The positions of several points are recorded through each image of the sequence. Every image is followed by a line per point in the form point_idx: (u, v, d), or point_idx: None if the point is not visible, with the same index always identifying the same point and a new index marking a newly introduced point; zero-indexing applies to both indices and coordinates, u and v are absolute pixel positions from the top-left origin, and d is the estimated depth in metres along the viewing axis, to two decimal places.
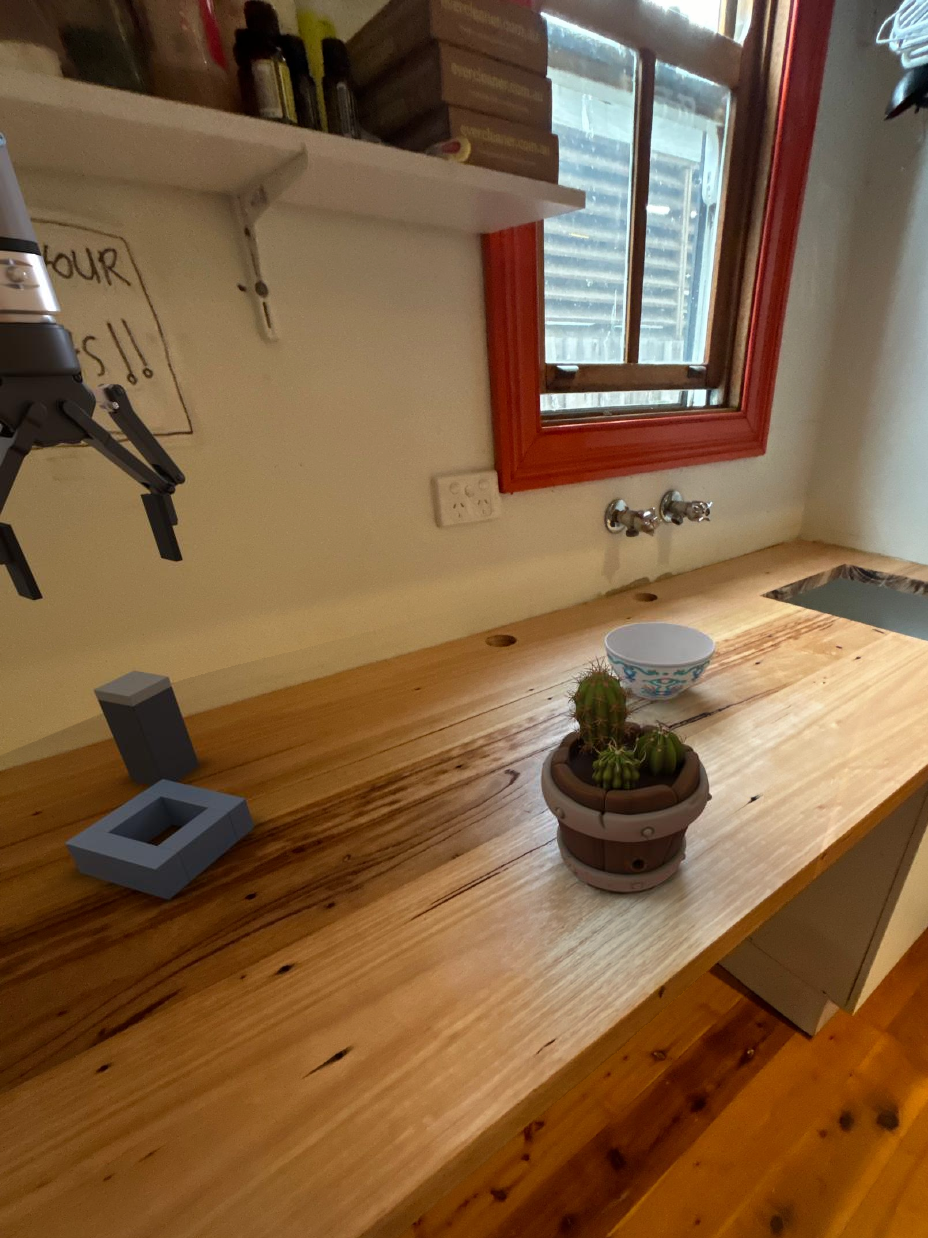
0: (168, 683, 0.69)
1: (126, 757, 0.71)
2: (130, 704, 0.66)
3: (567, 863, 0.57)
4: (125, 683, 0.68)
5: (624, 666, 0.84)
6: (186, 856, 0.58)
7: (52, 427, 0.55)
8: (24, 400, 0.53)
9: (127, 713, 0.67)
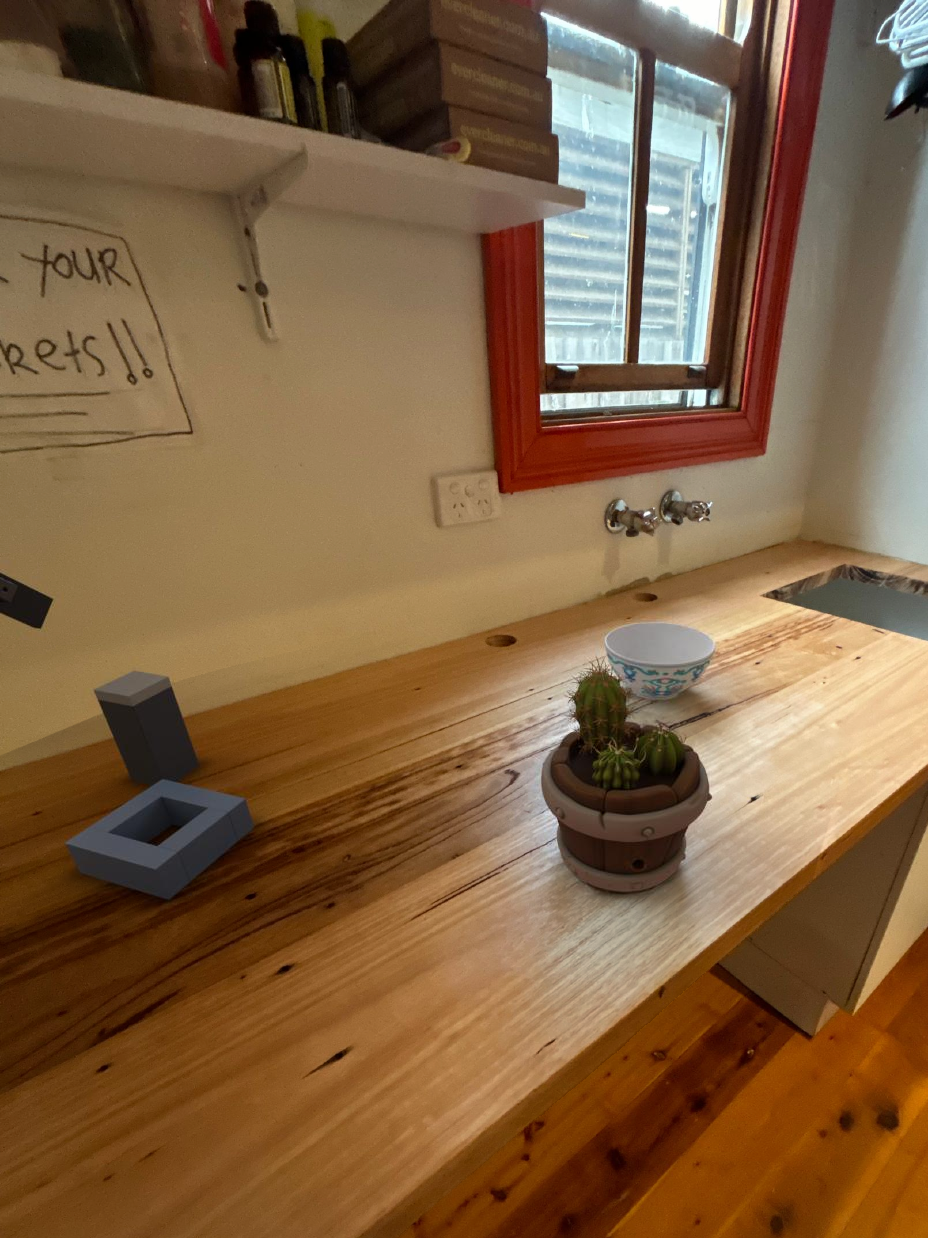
0: (168, 683, 0.69)
1: (126, 757, 0.71)
2: (130, 704, 0.66)
3: (567, 863, 0.57)
4: (125, 683, 0.68)
5: (624, 666, 0.84)
6: (186, 856, 0.58)
7: None
8: None
9: (127, 713, 0.67)
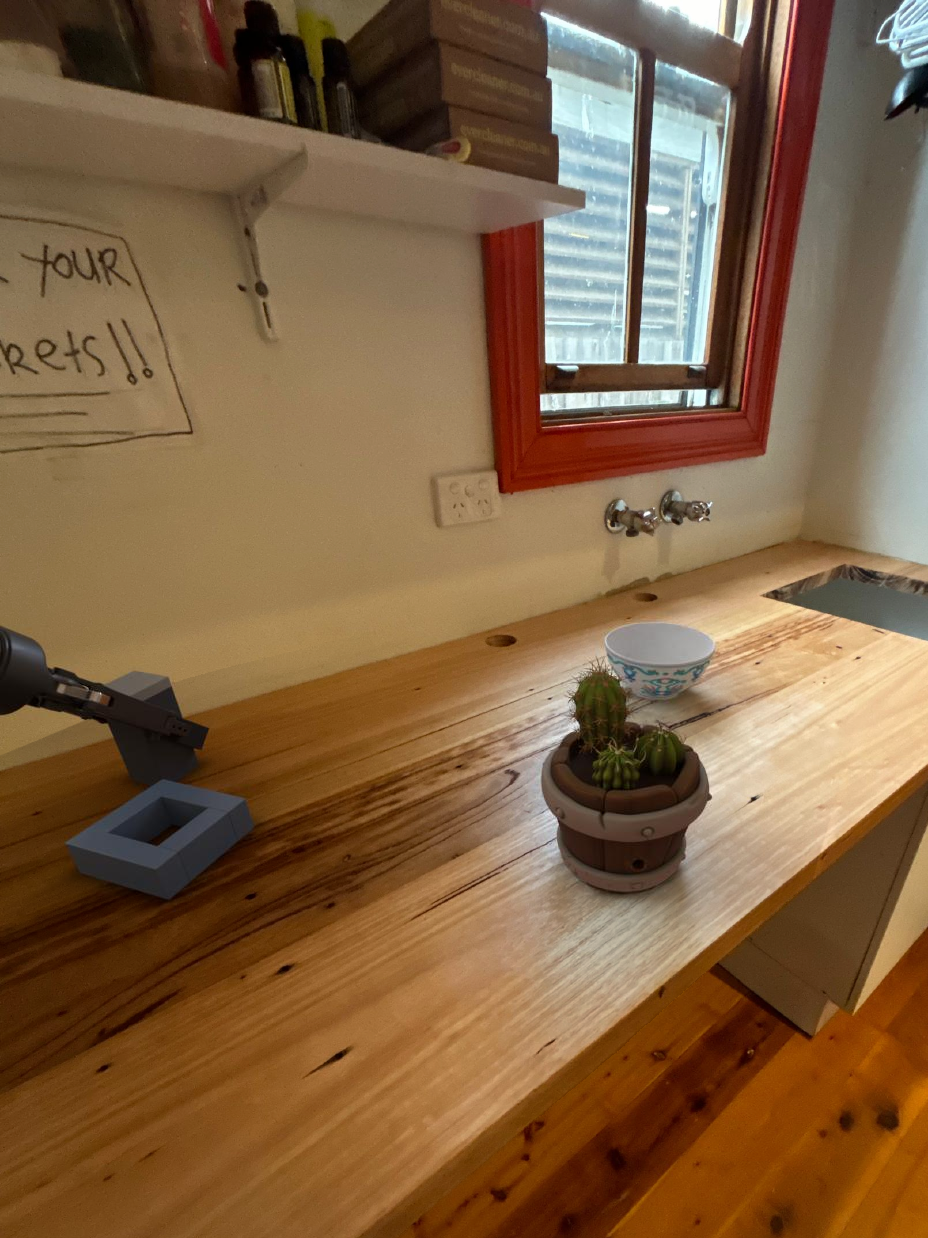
0: (168, 683, 0.69)
1: (125, 757, 0.71)
2: None
3: (567, 863, 0.57)
4: (125, 683, 0.68)
5: (624, 666, 0.84)
6: (186, 856, 0.58)
7: None
8: None
9: None
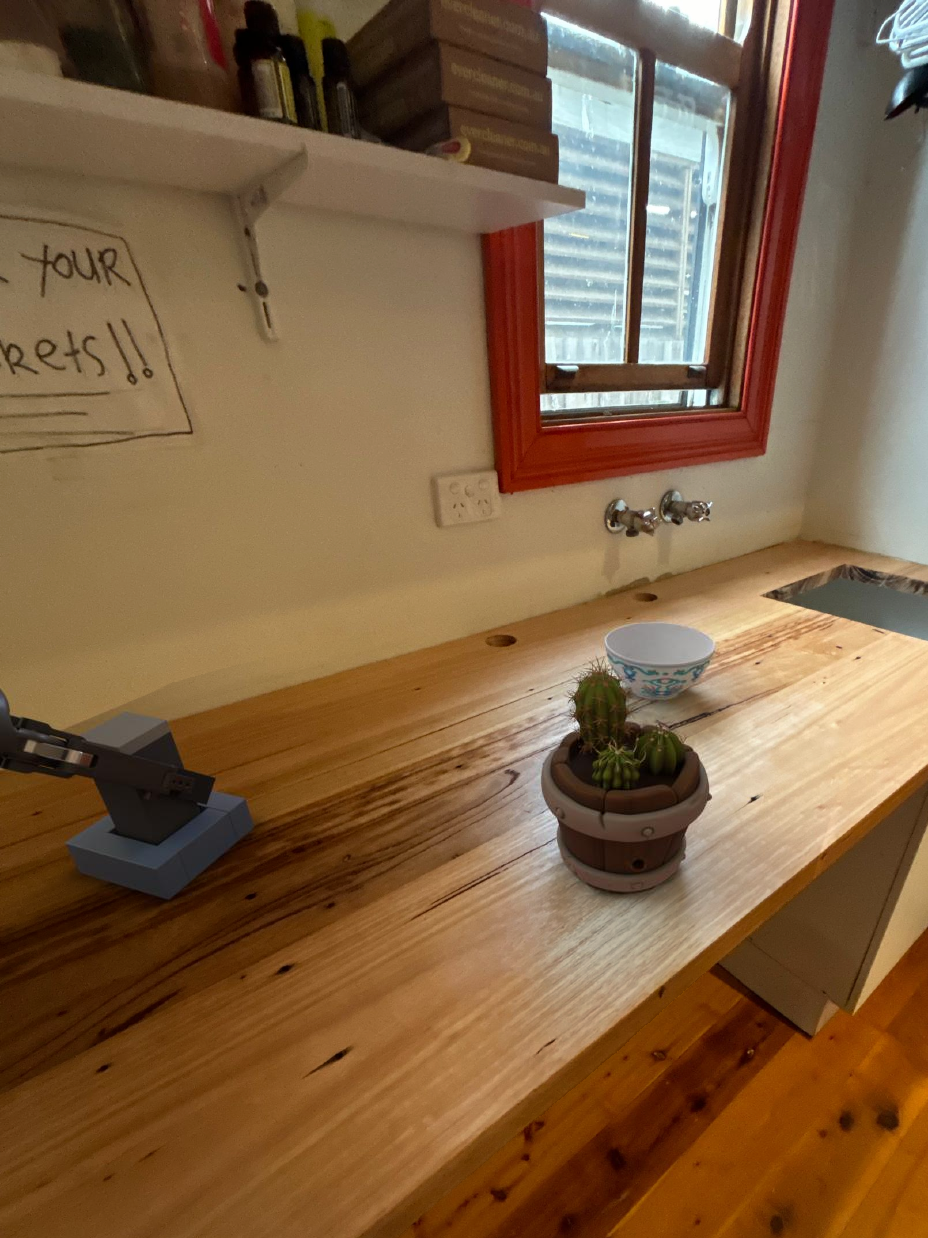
0: (167, 728, 0.57)
1: (115, 816, 0.58)
2: None
3: (567, 863, 0.57)
4: (114, 728, 0.56)
5: (624, 666, 0.84)
6: (186, 856, 0.58)
7: None
8: None
9: None
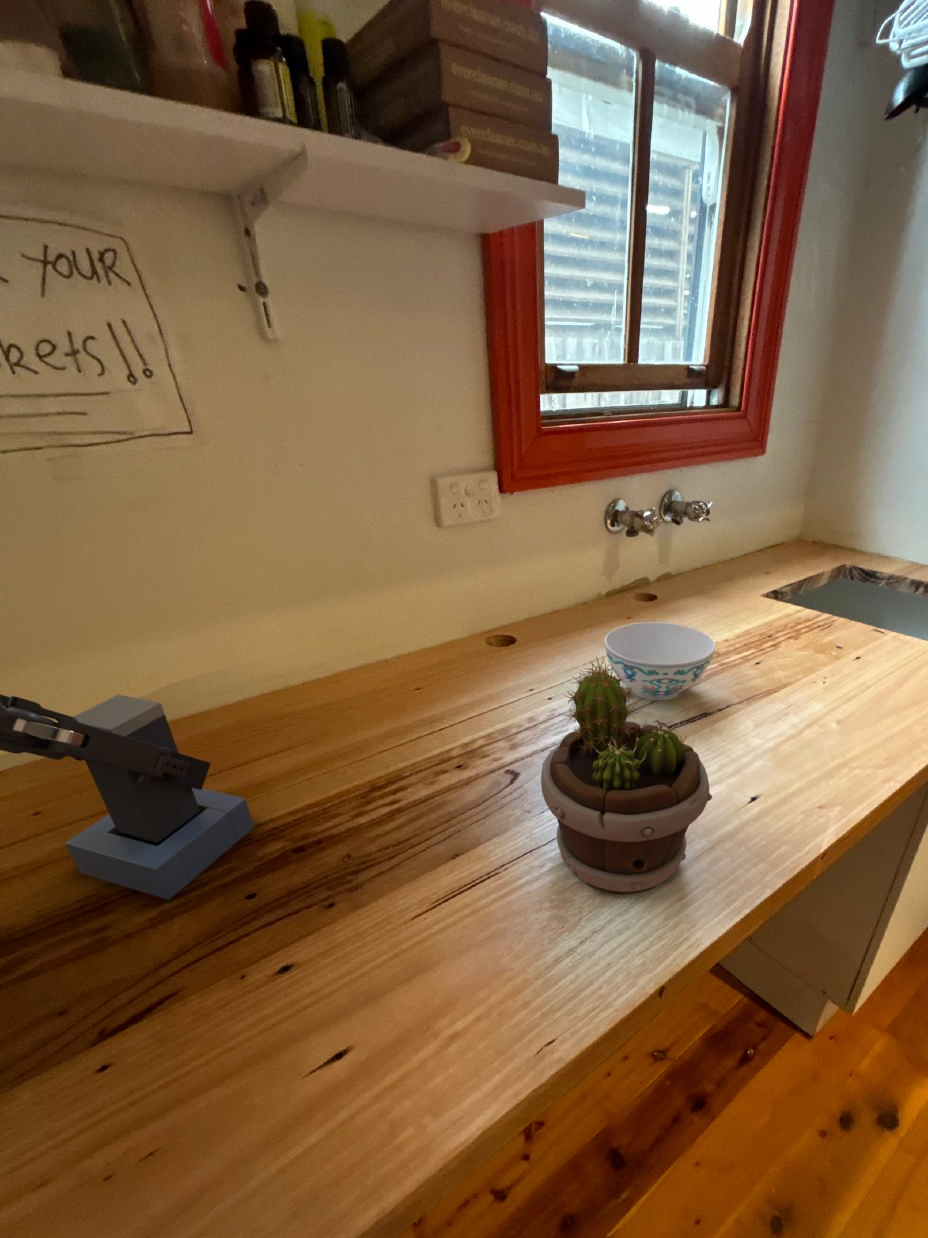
0: (161, 711, 0.56)
1: (108, 801, 0.57)
2: None
3: (567, 863, 0.57)
4: (107, 711, 0.55)
5: (624, 666, 0.84)
6: (186, 856, 0.58)
7: None
8: None
9: None
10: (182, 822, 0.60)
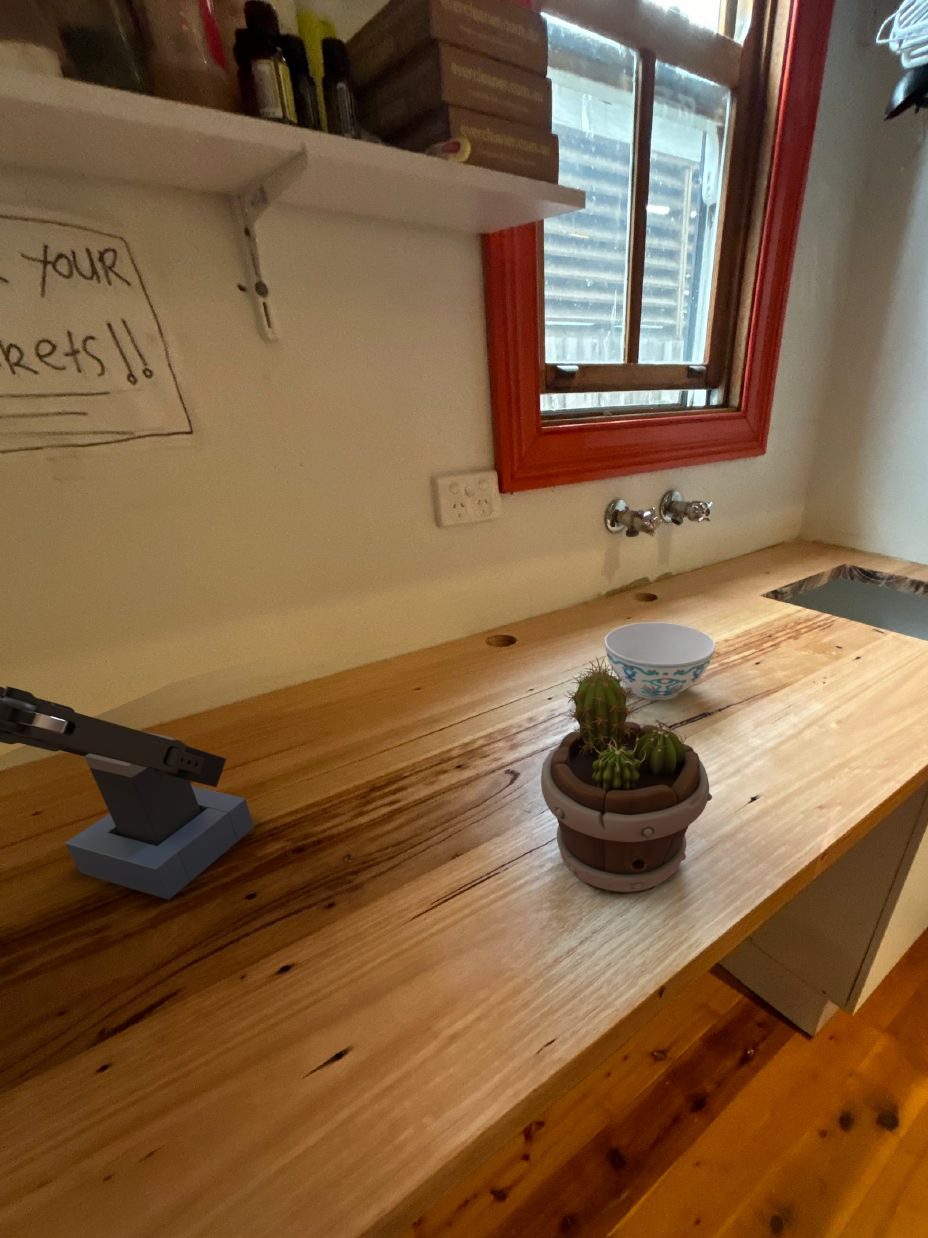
0: None
1: (123, 832, 0.59)
2: (128, 775, 0.55)
3: (567, 863, 0.57)
4: None
5: (624, 666, 0.84)
6: (186, 856, 0.58)
7: None
8: None
9: (125, 784, 0.55)
10: None
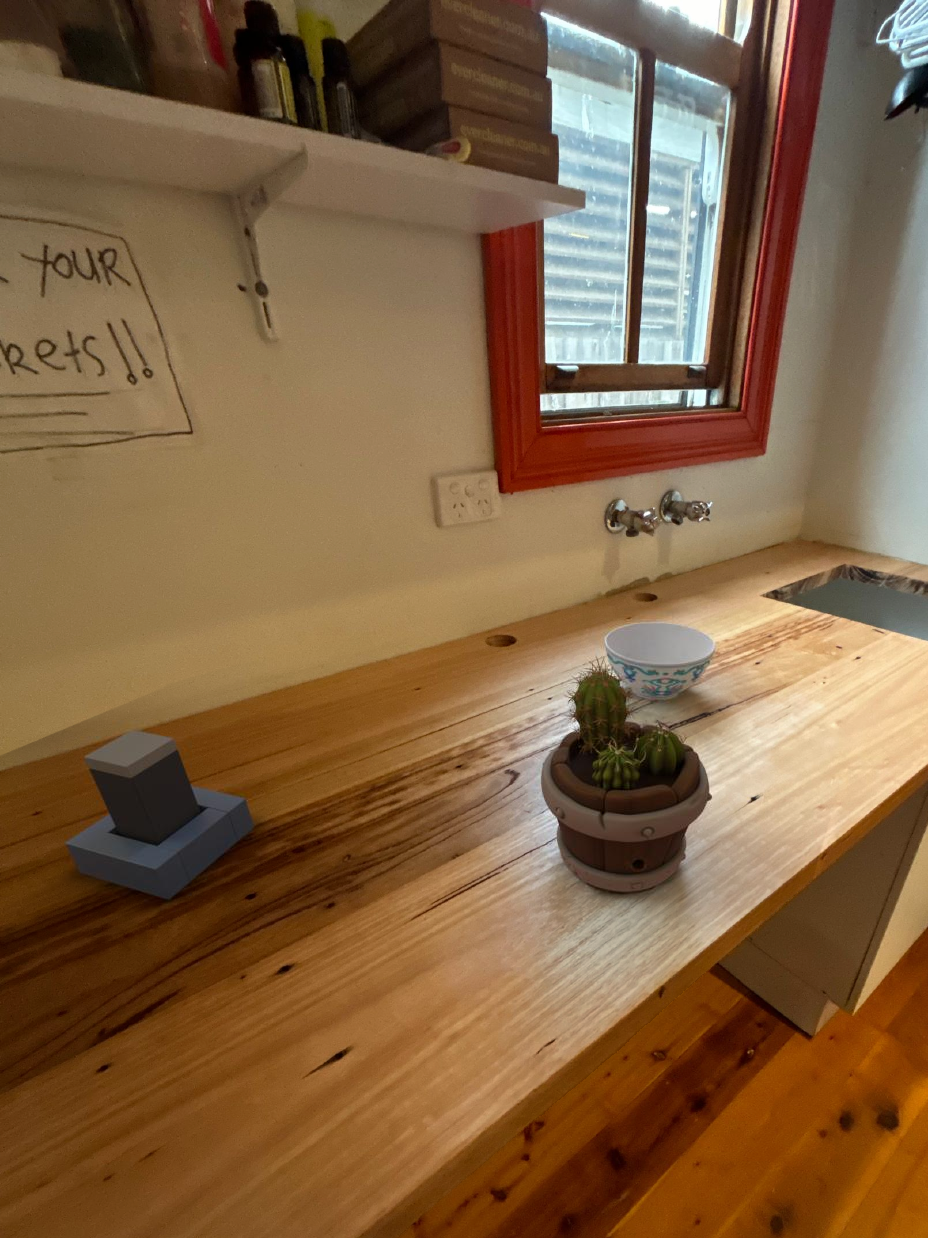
0: (174, 746, 0.58)
1: (123, 833, 0.59)
2: (128, 776, 0.55)
3: (567, 863, 0.57)
4: (123, 747, 0.57)
5: (624, 666, 0.84)
6: (186, 856, 0.58)
7: None
8: None
9: (125, 785, 0.55)
10: None
